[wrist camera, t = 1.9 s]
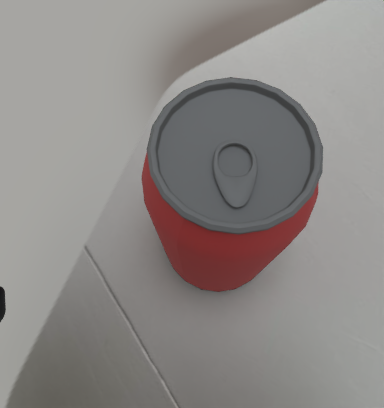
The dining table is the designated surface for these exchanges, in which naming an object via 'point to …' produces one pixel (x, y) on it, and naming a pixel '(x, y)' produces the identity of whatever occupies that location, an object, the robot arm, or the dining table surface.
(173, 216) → the beer can
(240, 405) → the dining table surface
